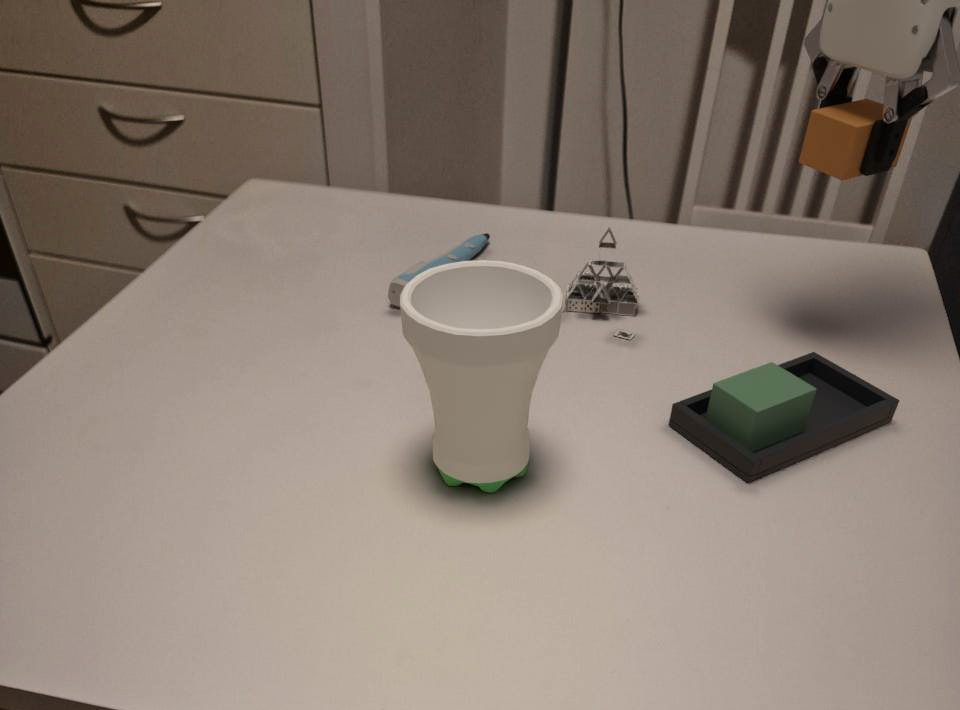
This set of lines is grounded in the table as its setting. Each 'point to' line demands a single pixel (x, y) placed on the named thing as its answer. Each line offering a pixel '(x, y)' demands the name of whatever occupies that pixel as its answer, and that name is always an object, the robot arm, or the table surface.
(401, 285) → the blue elongated piece
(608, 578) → the table surface
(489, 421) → the cup
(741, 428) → the green block
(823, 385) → the tray
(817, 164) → the block orange
